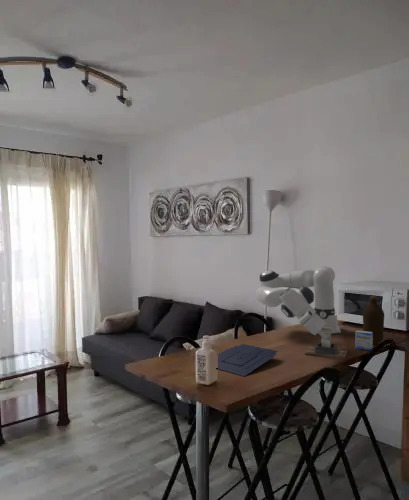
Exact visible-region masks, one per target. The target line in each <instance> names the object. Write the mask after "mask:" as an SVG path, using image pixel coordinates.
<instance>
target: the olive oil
mask: <svg viewBox="0 0 409 500" xmlns="http://www.w3.org/2000/svg"><path fill="white" fill-rule="evenodd" d="M362 325H363V328H362V329H363V331H367V332H373V346H377V345H376V344H378V343H379V342H381V341H382V340H383V341H384V331H385V312H384V310H383V309H382V308H381V306H380V305H379V304H378V299H377V296H376V295H370V298H369V304H368V305H367V306H365V307H364V309H363V311H362Z"/></svg>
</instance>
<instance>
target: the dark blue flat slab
mask: <svg viewBox="0 0 409 500" xmlns="http://www.w3.org/2000/svg"><path fill="white" fill-rule="evenodd" d="M278 352H279V350H275V349H271V348H270V349H268V348H264V347H257V346H255V345H250V344H244V343H242V344H240V345H235V346H232V347H230V348H227V349H226V350H223V351H222V352H220V353H218V354H217V355H218V369H217V370H220V371H221V370H222V371H225V372H229V373H231V374H235V375H238V376H242V377H245V376H247V375H248V374H250V373H252V372H253V371H255V369H257V368H260V367H261V366H262V365H264V364H265V363H266V362H268V361H270V360H271V359H273V358H274V357H275V356H276V355H277V353H278Z"/></svg>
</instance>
